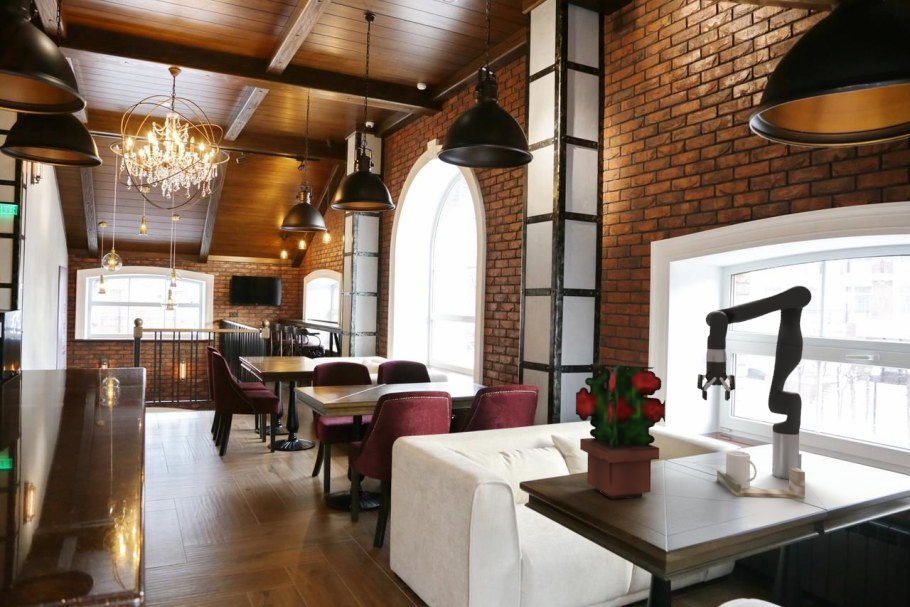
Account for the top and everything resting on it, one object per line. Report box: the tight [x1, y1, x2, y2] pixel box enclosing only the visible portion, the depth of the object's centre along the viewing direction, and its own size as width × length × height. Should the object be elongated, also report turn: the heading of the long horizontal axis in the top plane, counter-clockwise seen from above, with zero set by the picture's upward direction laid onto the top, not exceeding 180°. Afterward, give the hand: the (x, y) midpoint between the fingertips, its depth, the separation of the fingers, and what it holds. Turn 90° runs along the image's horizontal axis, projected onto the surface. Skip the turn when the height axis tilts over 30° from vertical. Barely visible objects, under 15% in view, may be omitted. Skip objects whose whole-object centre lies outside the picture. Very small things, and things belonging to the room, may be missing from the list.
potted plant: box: [575, 363, 666, 500], centre depth 218 cm, size 22×22×45 cm
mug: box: [725, 450, 757, 489], centre depth 227 cm, size 12×8×12 cm
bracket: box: [716, 468, 806, 499], centre depth 224 cm, size 23×19×9 cm
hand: (715, 400), depth 251 cm, fingers open, 8 cm apart
